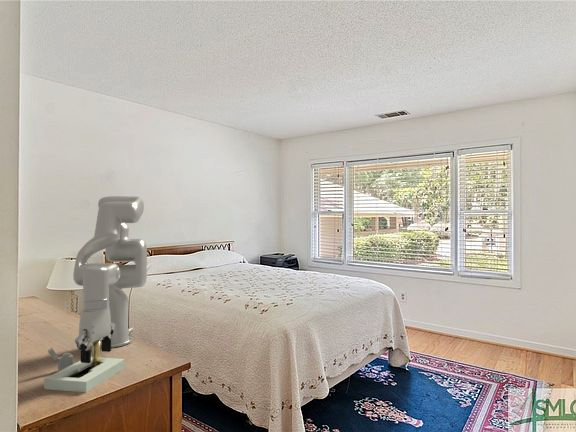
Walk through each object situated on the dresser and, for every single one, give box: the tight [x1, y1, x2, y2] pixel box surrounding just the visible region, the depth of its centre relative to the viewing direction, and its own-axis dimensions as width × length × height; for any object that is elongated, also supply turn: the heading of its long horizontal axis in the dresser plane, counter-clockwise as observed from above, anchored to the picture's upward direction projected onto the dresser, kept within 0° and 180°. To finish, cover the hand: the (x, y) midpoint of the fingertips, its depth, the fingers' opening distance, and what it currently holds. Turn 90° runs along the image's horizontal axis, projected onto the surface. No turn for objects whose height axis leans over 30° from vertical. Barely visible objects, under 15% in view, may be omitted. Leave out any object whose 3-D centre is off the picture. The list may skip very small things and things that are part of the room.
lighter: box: [47, 347, 74, 372], centre depth 121 cm, size 7×2×8 cm, turn 127°
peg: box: [88, 339, 102, 373], centre depth 119 cm, size 4×4×10 cm
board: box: [43, 356, 126, 393], centre depth 115 cm, size 18×14×3 cm
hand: (96, 356), depth 120 cm, fingers open, 9 cm apart
